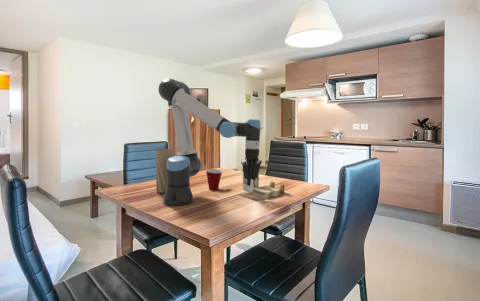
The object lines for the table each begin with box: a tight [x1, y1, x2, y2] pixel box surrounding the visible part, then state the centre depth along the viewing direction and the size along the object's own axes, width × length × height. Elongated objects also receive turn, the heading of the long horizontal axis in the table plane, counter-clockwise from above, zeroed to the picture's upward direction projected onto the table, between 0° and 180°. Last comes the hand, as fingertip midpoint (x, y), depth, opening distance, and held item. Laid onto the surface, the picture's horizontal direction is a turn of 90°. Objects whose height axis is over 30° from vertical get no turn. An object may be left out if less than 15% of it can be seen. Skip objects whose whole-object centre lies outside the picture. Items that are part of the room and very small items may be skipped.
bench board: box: [238, 181, 291, 203], centre depth 154 cm, size 26×16×6 cm, turn 127°
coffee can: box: [241, 168, 260, 192], centre depth 165 cm, size 10×10×14 cm
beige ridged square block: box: [251, 185, 280, 198], centre depth 154 cm, size 12×12×3 cm
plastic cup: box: [205, 168, 223, 191], centre depth 170 cm, size 11×11×12 cm
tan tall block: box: [155, 148, 174, 194], centre depth 164 cm, size 10×10×25 cm
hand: (250, 191), depth 148 cm, fingers closed
